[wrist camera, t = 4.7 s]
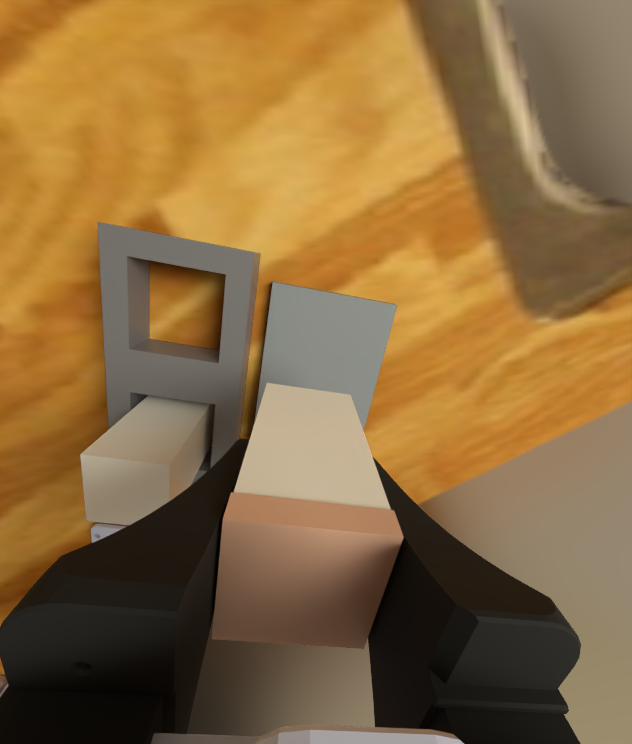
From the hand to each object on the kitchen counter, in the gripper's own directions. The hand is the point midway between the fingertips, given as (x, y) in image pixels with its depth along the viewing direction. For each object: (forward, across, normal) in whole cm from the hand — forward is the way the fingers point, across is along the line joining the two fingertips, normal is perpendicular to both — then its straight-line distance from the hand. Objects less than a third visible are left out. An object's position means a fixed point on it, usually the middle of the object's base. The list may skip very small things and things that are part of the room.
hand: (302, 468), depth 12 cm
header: (+10, +8, 0) cm, 13 cm away
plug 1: (+10, +8, +4) cm, 14 cm away
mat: (+10, -1, 0) cm, 10 cm away
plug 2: (+3, 0, 0) cm, 3 cm away
